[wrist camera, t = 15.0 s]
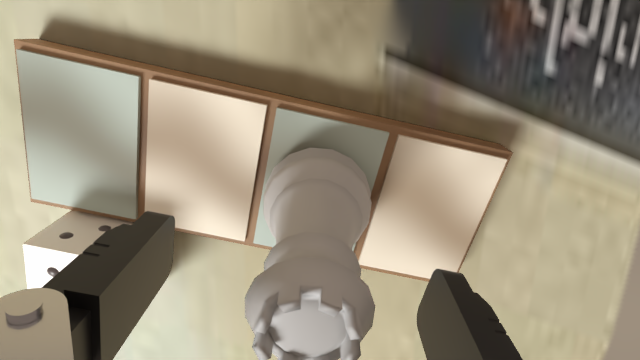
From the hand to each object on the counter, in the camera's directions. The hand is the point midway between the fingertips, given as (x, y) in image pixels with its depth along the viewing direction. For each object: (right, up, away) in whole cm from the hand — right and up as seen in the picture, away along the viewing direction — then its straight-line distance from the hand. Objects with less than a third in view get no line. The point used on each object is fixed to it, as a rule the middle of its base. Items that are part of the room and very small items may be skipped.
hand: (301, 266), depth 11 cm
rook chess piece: (0, +2, +5) cm, 5 cm away
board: (-2, +3, +6) cm, 7 cm away
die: (-9, -1, +8) cm, 12 cm away
